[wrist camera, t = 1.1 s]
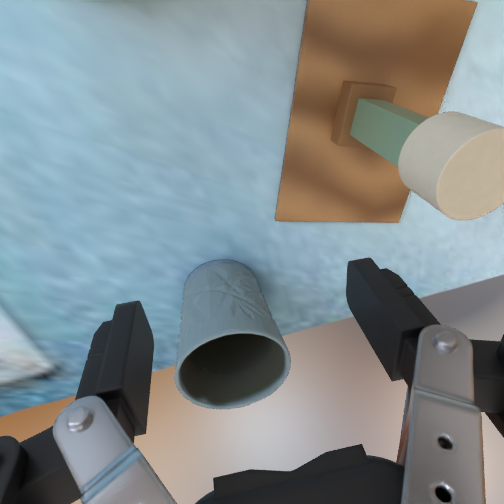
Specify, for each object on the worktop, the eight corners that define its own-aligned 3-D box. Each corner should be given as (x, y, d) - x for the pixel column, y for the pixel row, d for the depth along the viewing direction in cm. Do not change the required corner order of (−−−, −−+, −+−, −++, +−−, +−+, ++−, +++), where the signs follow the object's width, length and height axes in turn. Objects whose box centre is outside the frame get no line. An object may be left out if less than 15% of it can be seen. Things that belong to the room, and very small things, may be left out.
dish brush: (337, 79, 30) (460, 125, 16) (391, 84, 31) (548, 131, 17) (325, 139, 32) (422, 220, 19) (374, 142, 33) (500, 221, 20)
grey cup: (165, 311, 41) (159, 403, 31) (194, 240, 36) (198, 321, 26) (244, 327, 44) (262, 415, 34) (279, 264, 40) (311, 344, 30)
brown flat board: (310, -23, 26) (312, -23, 26) (473, 2, 29) (478, 2, 28) (274, 218, 37) (275, 221, 36) (396, 220, 39) (398, 222, 39)
